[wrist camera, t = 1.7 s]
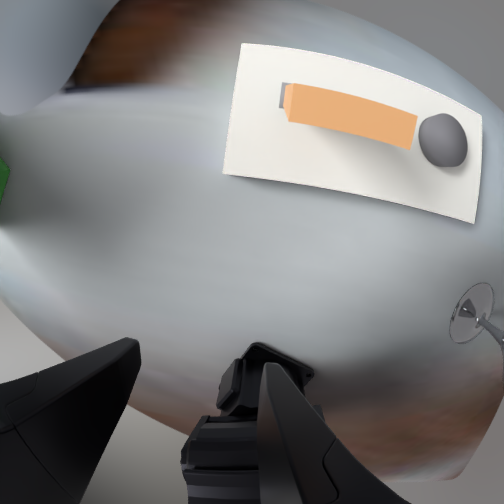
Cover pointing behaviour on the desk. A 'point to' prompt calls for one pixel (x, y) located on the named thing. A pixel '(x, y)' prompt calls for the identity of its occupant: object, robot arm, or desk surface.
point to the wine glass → (475, 317)
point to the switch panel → (345, 134)
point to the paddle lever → (347, 114)
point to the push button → (443, 140)
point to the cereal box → (3, 176)
